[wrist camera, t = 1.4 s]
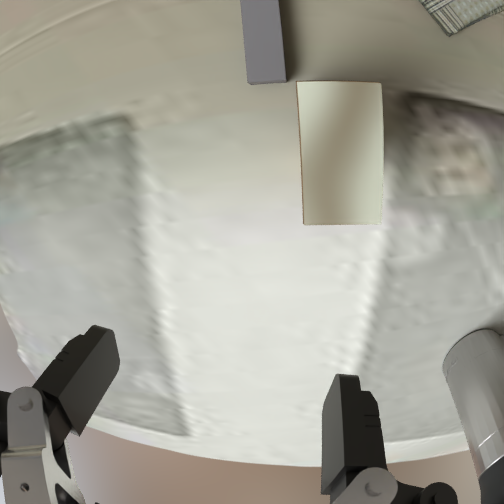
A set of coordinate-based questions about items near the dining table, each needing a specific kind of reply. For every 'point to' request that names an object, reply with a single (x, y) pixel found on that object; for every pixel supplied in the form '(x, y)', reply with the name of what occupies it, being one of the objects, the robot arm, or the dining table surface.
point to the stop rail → (263, 41)
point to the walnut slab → (341, 151)
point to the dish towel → (461, 12)
